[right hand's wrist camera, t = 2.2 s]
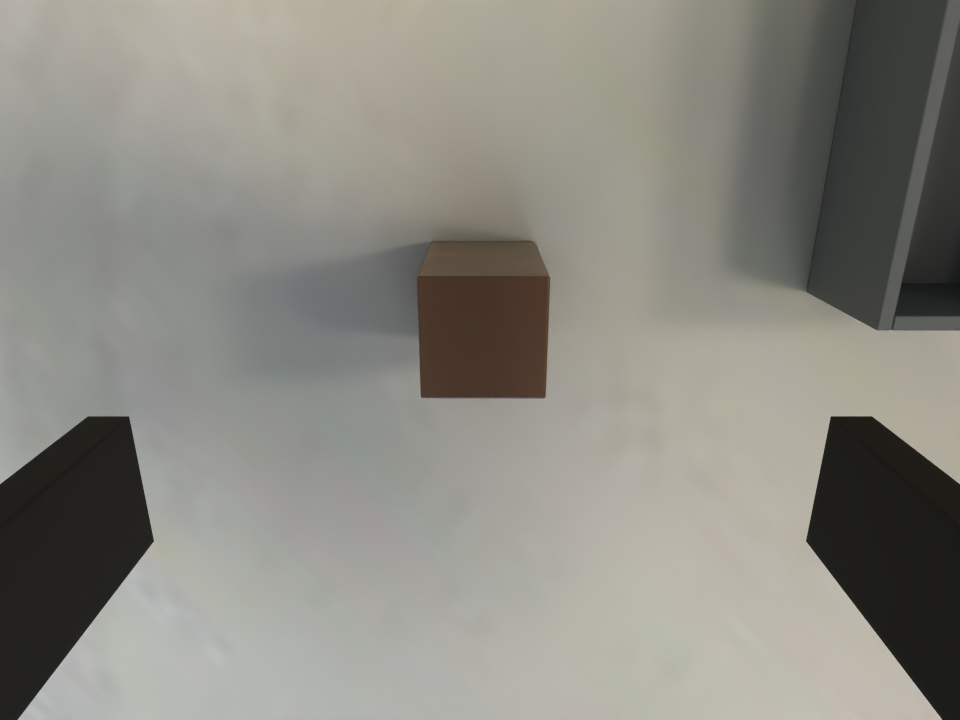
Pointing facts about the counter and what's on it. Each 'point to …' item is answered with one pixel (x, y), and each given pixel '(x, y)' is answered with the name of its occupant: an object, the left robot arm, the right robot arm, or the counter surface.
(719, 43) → the counter surface
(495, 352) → the walnut block
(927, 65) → the trough
